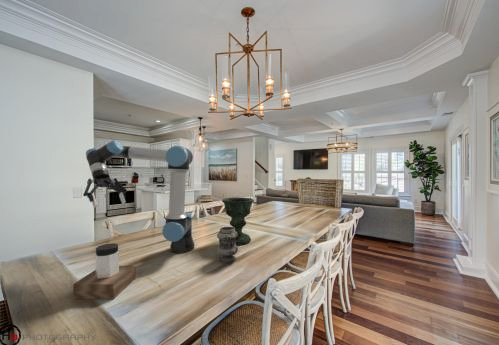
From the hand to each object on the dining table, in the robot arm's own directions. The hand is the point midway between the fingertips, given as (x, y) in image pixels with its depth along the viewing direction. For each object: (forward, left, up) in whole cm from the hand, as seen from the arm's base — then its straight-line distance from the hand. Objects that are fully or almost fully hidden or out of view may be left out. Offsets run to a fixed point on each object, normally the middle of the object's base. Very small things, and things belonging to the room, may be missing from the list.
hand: (110, 204), depth 112 cm
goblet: (-64, -41, -33) cm, 83 cm away
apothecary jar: (-60, -10, -33) cm, 69 cm away
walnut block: (-11, +20, -33) cm, 40 cm away
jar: (-11, +20, -27) cm, 35 cm away
